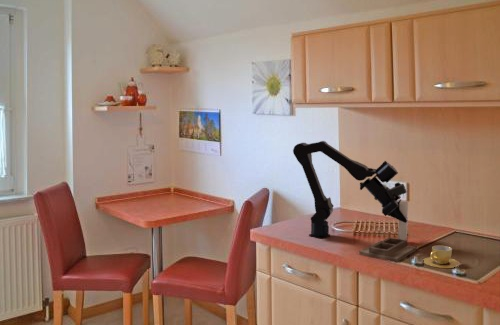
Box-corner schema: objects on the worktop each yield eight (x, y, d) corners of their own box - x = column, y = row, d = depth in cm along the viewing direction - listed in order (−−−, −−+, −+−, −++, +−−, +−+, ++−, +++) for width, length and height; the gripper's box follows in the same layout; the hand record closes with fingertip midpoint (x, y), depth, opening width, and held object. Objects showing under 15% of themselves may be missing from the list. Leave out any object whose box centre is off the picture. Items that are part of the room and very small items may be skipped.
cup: (440, 256, 182) (440, 241, 181) (468, 265, 171) (468, 250, 170) (415, 261, 176) (415, 246, 175) (442, 271, 165) (443, 255, 165)
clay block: (398, 239, 196) (399, 203, 194) (398, 235, 201) (400, 200, 199) (406, 239, 195) (407, 203, 193) (406, 236, 200) (408, 201, 198)
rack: (359, 254, 183) (359, 245, 183) (381, 243, 197) (381, 235, 197) (396, 262, 174) (396, 253, 174) (416, 250, 188) (417, 241, 188)
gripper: (392, 180, 188) (422, 212, 185) (395, 173, 205) (423, 202, 203) (369, 200, 191) (399, 231, 189) (375, 191, 209) (402, 220, 206)
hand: (406, 220), depth 197 cm, fingers closed on clay block, 5 cm apart
